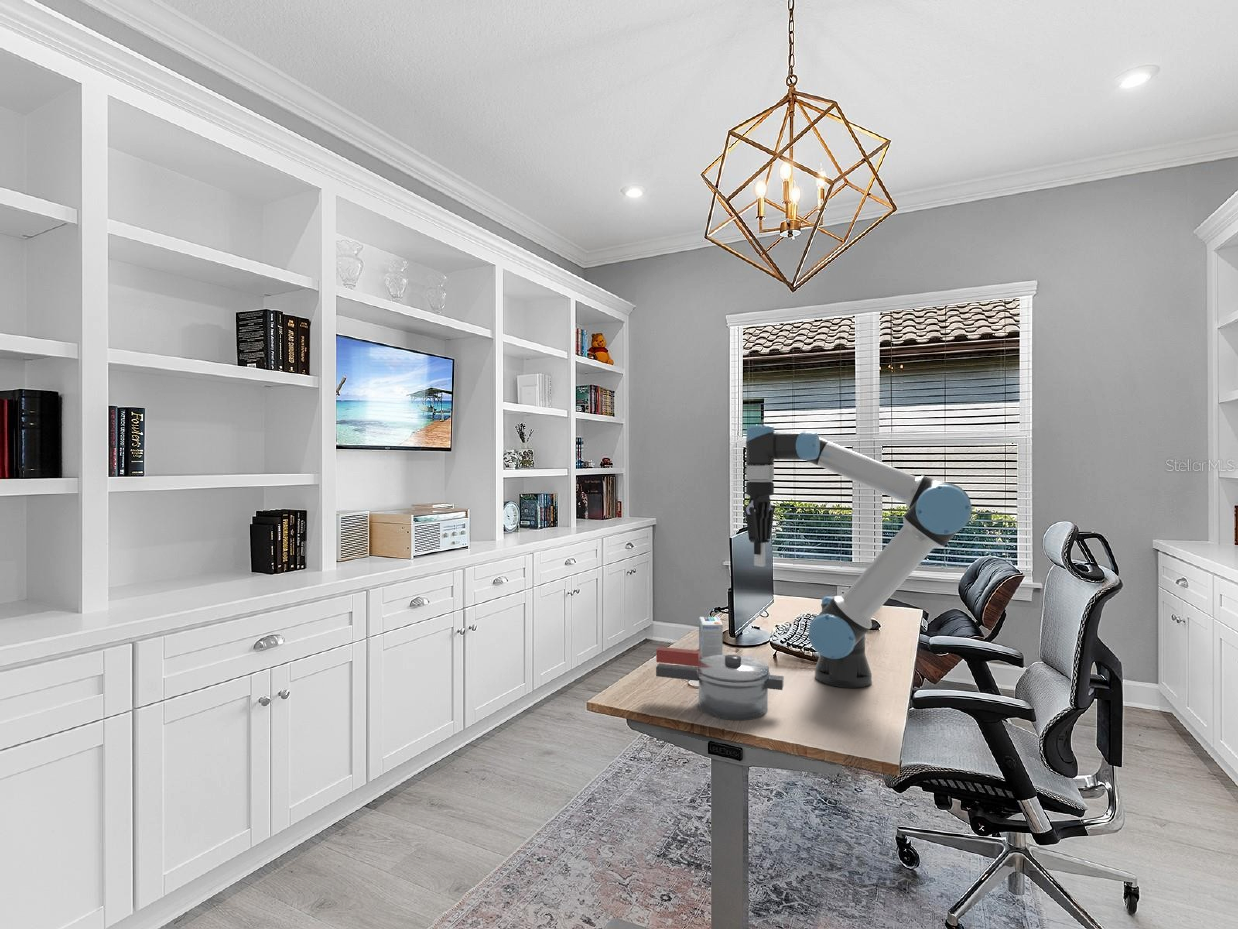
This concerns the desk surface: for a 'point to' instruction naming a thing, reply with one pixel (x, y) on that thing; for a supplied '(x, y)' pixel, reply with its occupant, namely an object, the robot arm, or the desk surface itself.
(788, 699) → the desk surface
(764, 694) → the cooker pot
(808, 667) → the desk surface
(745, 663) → the lid
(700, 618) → the light bulb box
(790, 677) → the desk surface
